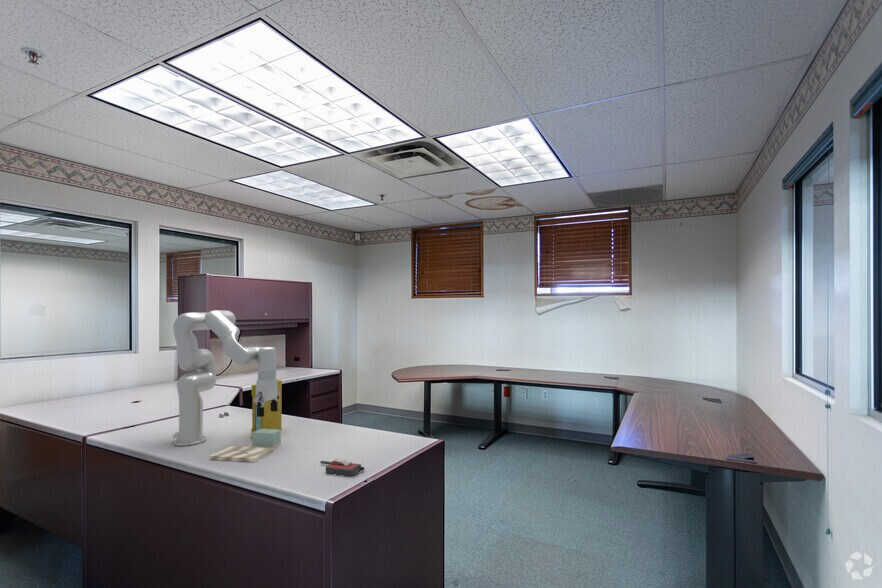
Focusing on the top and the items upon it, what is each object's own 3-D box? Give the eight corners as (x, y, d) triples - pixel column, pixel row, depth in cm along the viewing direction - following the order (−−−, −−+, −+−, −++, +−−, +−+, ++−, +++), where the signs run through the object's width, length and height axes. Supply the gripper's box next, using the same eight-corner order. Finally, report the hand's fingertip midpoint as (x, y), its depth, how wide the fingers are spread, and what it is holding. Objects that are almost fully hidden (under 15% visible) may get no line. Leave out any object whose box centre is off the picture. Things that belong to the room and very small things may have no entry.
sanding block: (252, 448, 181) (252, 432, 181) (260, 444, 187) (260, 428, 187) (272, 449, 179) (272, 433, 179) (280, 445, 185) (280, 429, 185)
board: (209, 459, 167) (209, 455, 168) (232, 449, 180) (232, 445, 180) (253, 462, 163) (253, 458, 164) (273, 451, 176) (273, 448, 176)
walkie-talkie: (367, 470, 154) (322, 464, 161) (367, 457, 154) (322, 452, 161) (355, 478, 146) (307, 472, 153) (355, 466, 146) (307, 460, 153)
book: (263, 439, 195) (264, 385, 196) (251, 438, 196) (251, 385, 198) (284, 429, 212) (284, 379, 213) (272, 428, 213) (272, 379, 214)
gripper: (271, 372, 194) (271, 409, 193) (246, 377, 177) (247, 418, 176) (285, 372, 192) (286, 409, 191) (262, 377, 175) (262, 418, 174)
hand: (267, 413), depth 184 cm, fingers open, 9 cm apart
